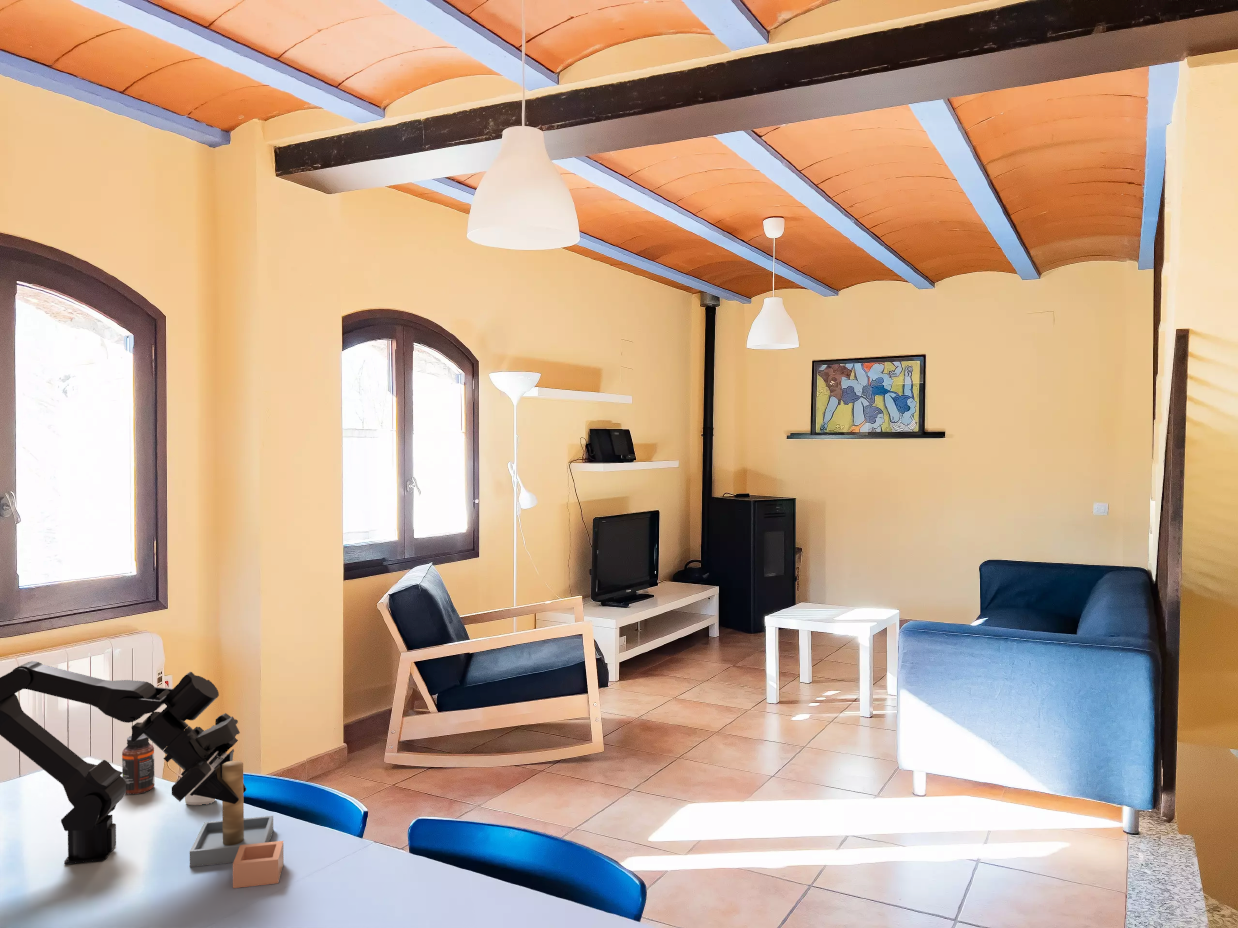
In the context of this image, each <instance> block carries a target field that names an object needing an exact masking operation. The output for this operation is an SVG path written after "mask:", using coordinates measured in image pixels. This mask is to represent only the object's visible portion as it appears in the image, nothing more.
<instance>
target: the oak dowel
mask: <svg viewBox="0 0 1238 928" xmlns="http://www.w3.org/2000/svg"><path fill="white" fill-rule="evenodd" d="M222 779H223V780H224V781H225V782H226V783H227V784H228V785H229V787H230V788H231V789H232V790H233V791H234V792H235V794H236V795H237V796H238V798H239V801H238V802H237V803H235V804H232V803H228V802H224V801H221V802H222V803H221V804H222V805H221V806H222V809H221V811H222V812H221V814H222V820H221V821H223V844H224V845H235V844H239V843H241V842H242V841H243V840H244V818H245V817H244V816H245V814H244V810H245V809H244V808H245V807H244V806H245V805H244V803H245V802H244V793H243V783H244V761H242V760H233V761H229V762H226V763H224V764H223V765H222Z"/></svg>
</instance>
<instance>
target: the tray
mask: <svg viewBox="0 0 1238 928" xmlns="http://www.w3.org/2000/svg"><path fill="white" fill-rule="evenodd" d="M273 833H274V815H266V816H254V817H247V818H245V817H244V840H243V841H242V842H241V843H239V844H235V845H224V844H223V821H222V820H213V821H205V822H203V824H202V826H201V829H200V830H199V832H198V834H197V836H196V837H195V840H194V842H193V844H192V846H191V848H190V850H189V868H193V867H194V868H195V867H203V866H212V865H213V866H214V865H223V864H230V863H232V864H233V862H234V860H235V857H236V855H237V852H238V849H239V847H240V845H247V844H257V843H267V842H271V838H272V836H273Z"/></svg>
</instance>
